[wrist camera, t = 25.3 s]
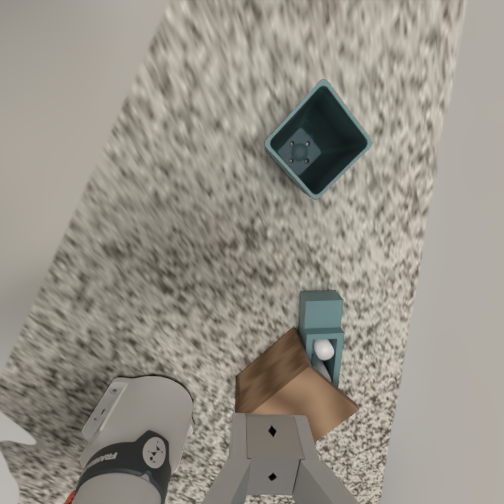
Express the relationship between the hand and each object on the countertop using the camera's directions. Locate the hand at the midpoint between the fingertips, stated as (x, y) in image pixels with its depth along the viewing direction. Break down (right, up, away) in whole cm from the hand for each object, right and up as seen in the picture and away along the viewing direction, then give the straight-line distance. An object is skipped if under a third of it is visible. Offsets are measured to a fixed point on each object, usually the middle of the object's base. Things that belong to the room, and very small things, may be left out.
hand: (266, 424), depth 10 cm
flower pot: (+6, +21, +25) cm, 33 cm away
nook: (+6, -16, +35) cm, 39 cm away
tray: (+11, -8, +33) cm, 36 cm away
